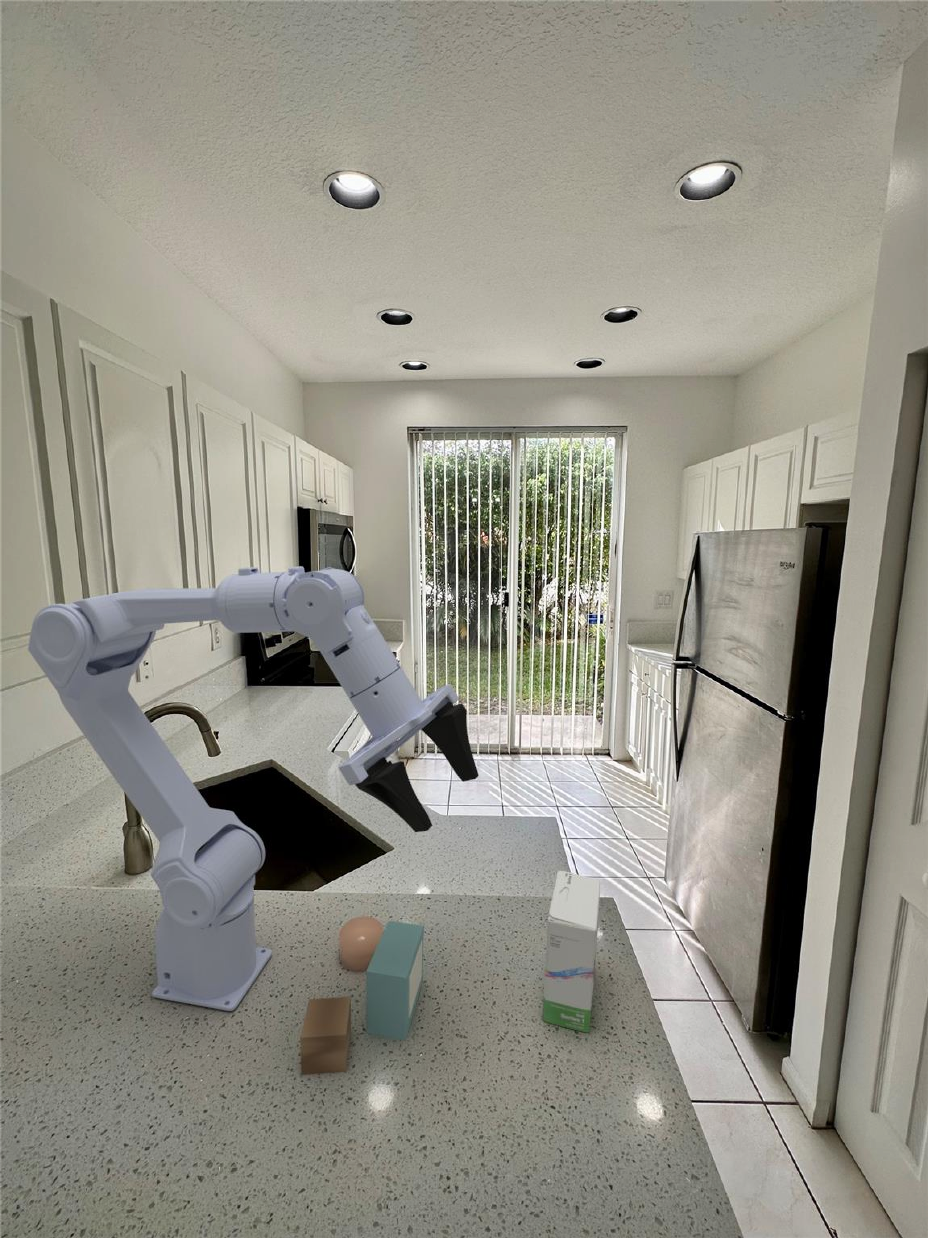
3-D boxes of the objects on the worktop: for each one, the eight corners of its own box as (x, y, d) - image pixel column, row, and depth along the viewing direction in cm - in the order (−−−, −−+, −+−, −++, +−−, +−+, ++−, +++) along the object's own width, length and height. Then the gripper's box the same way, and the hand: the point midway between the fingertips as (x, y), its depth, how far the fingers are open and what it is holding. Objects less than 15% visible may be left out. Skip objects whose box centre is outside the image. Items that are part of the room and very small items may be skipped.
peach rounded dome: (332, 968, 60) (332, 944, 60) (349, 936, 65) (349, 914, 64) (375, 975, 59) (375, 951, 59) (388, 942, 64) (388, 919, 64)
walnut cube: (301, 1076, 48) (300, 1038, 47) (309, 1035, 52) (309, 999, 51) (346, 1072, 48) (345, 1034, 48) (350, 1032, 52) (350, 996, 52)
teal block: (365, 1034, 52) (365, 971, 51) (387, 976, 59) (387, 920, 58) (406, 1041, 52) (407, 978, 50) (423, 982, 58) (424, 925, 57)
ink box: (590, 1036, 53) (598, 930, 51) (540, 1021, 54) (546, 918, 52) (594, 970, 61) (601, 876, 59) (551, 959, 62) (557, 867, 60)
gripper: (338, 711, 42) (426, 853, 43) (446, 637, 53) (515, 752, 53) (300, 729, 47) (380, 856, 48) (406, 658, 58) (470, 763, 58)
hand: (448, 802), depth 51 cm, fingers open, 7 cm apart
